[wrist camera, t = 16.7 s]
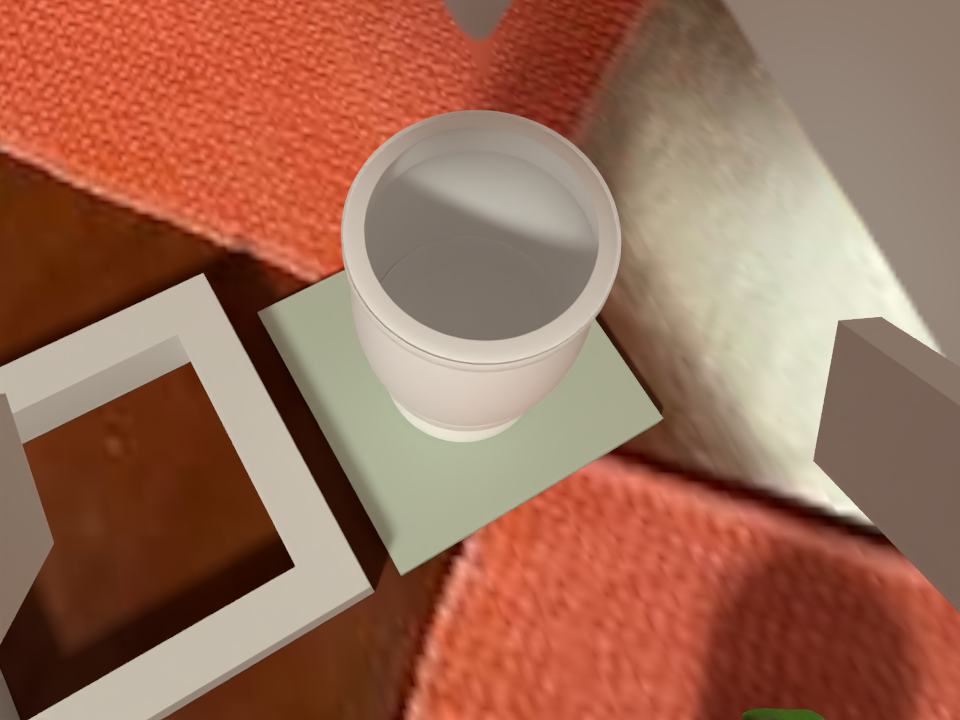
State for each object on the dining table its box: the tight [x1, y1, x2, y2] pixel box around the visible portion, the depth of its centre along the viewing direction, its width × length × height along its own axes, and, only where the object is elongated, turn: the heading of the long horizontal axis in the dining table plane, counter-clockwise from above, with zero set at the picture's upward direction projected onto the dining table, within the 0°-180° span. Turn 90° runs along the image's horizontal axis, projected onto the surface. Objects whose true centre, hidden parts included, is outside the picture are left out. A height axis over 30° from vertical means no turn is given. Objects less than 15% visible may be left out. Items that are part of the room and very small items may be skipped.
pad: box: [257, 270, 663, 576], centre depth 43 cm, size 16×16×1 cm
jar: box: [341, 110, 621, 442], centre depth 36 cm, size 11×10×15 cm
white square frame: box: [0, 273, 374, 720], centre depth 38 cm, size 18×19×4 cm
